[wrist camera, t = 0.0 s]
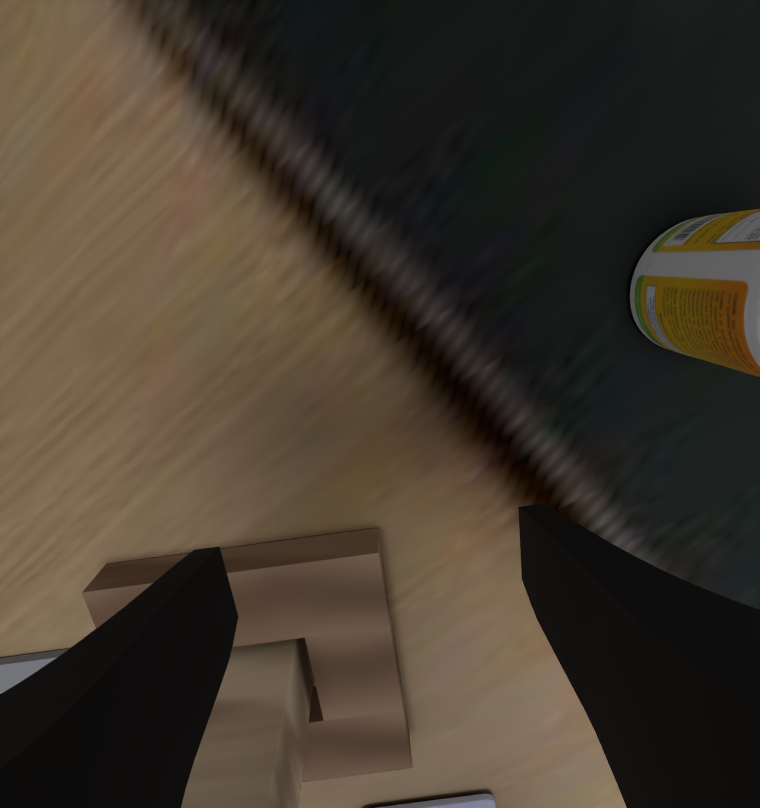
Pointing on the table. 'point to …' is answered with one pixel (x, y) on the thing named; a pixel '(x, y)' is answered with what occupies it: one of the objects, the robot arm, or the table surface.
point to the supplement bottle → (703, 290)
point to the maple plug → (256, 730)
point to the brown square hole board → (309, 637)
